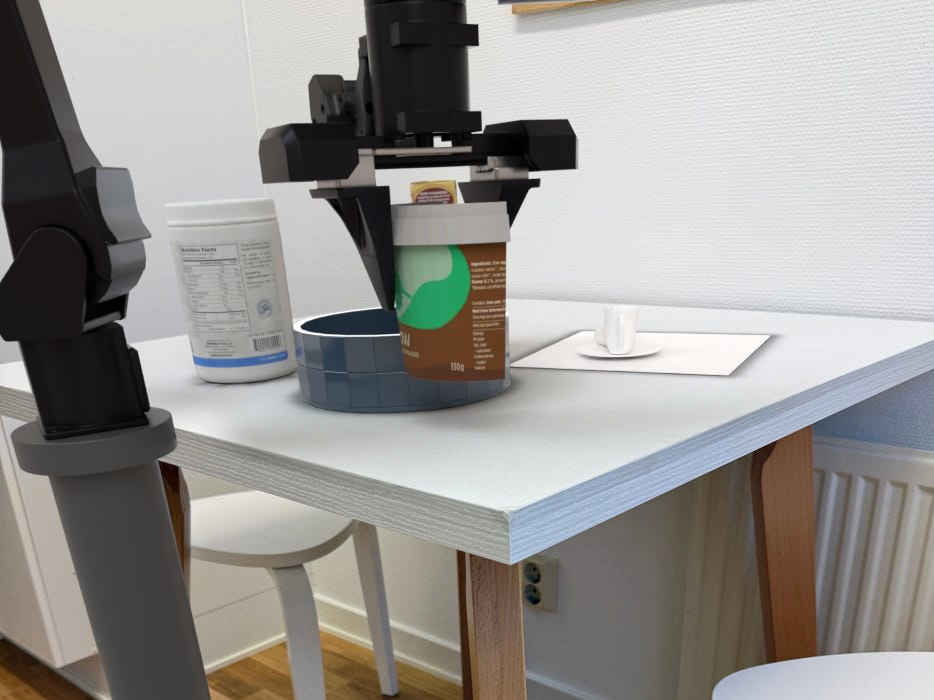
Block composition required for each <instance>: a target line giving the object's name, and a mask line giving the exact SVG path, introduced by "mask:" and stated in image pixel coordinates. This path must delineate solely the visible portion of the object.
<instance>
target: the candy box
mask: <svg viewBox="0 0 934 700" xmlns="http://www.w3.org/2000/svg"><path fill="white" fill-rule="evenodd" d="M457 187H458V186H457V180H455V179H432V180H431V179H430V180H423V181H421V180H420V181H415V182H413V181H412V182H411V183H409V195H410V196H409V197H410V203H420V202H440V201H443V203H444V204H458V190H457V189H458V188H457Z"/></svg>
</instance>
